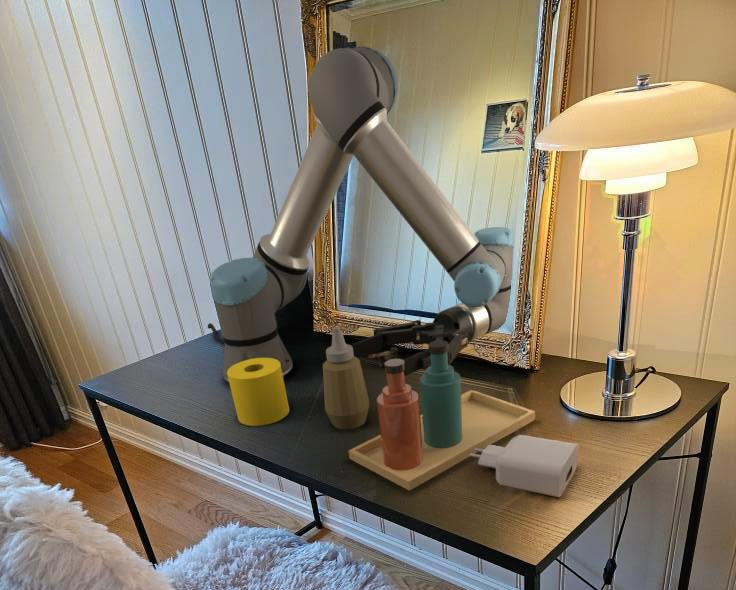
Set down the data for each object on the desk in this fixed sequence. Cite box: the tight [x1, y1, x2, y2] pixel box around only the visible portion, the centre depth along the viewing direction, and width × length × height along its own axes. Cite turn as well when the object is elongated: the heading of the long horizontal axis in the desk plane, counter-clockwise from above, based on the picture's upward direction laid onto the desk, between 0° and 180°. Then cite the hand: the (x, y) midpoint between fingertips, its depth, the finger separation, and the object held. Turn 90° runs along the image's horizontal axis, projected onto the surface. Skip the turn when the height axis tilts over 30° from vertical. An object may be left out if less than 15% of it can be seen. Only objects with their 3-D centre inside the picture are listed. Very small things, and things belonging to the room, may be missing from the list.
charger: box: [470, 434, 580, 498], centre depth 97 cm, size 5×9×15 cm
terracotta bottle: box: [376, 358, 423, 470], centre depth 100 cm, size 6×6×17 cm
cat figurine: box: [366, 346, 399, 368], centre depth 139 cm, size 3×8×4 cm, turn 59°
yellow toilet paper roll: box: [227, 358, 290, 427], centre depth 124 cm, size 10×10×9 cm
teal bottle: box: [419, 340, 462, 448], centre depth 104 cm, size 6×6×17 cm
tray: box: [348, 389, 536, 491], centre depth 109 cm, size 15×29×2 cm, turn 129°
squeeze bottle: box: [322, 326, 370, 430], centre depth 114 cm, size 8×8×18 cm
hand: (377, 359), depth 117 cm, fingers open, 13 cm apart
